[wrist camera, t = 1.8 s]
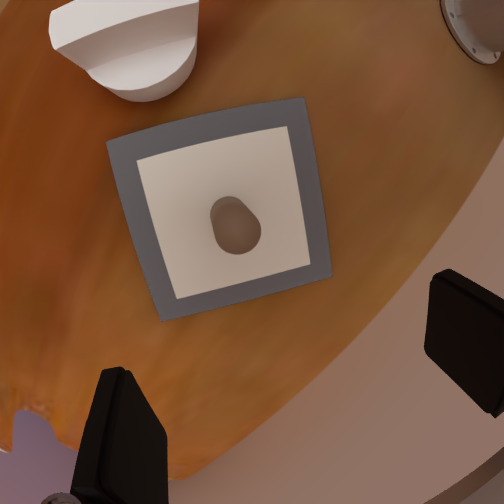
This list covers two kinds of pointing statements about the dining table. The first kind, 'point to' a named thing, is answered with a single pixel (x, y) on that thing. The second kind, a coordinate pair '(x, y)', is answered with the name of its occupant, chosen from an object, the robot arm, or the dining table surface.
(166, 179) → the lid
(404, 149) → the dining table surface
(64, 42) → the cylinder with rectangular tab
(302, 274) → the mat
